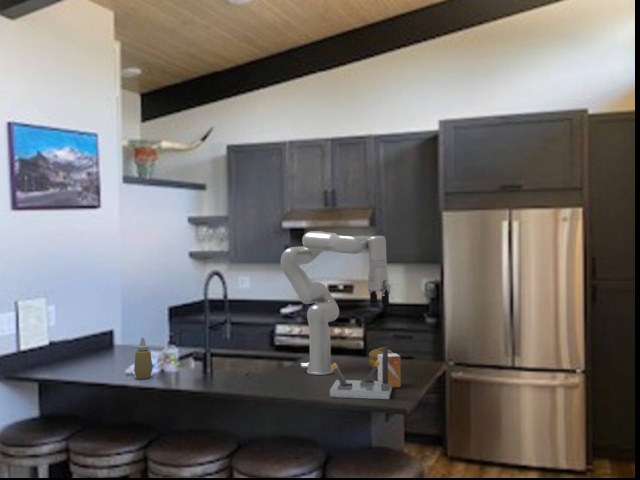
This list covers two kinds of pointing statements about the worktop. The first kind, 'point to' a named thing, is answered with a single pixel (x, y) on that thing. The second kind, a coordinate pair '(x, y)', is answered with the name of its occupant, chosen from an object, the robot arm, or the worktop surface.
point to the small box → (390, 369)
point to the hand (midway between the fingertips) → (379, 304)
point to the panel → (360, 389)
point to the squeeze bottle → (143, 361)
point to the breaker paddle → (373, 371)
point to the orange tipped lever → (338, 374)
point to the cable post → (385, 370)
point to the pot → (376, 356)
